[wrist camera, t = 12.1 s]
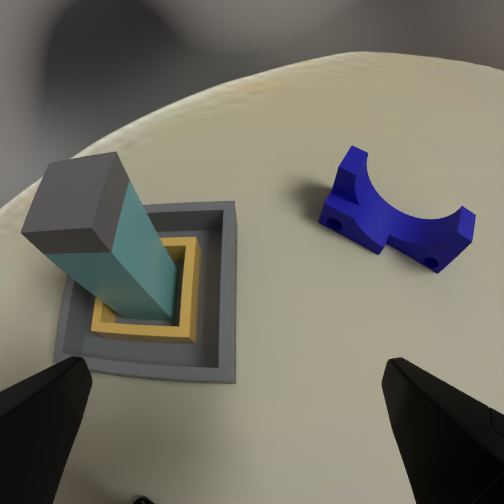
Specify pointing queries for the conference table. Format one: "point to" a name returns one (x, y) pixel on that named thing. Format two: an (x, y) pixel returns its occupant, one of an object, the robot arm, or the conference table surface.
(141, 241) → the plug
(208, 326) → the socket box
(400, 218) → the cable clip
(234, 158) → the conference table surface
